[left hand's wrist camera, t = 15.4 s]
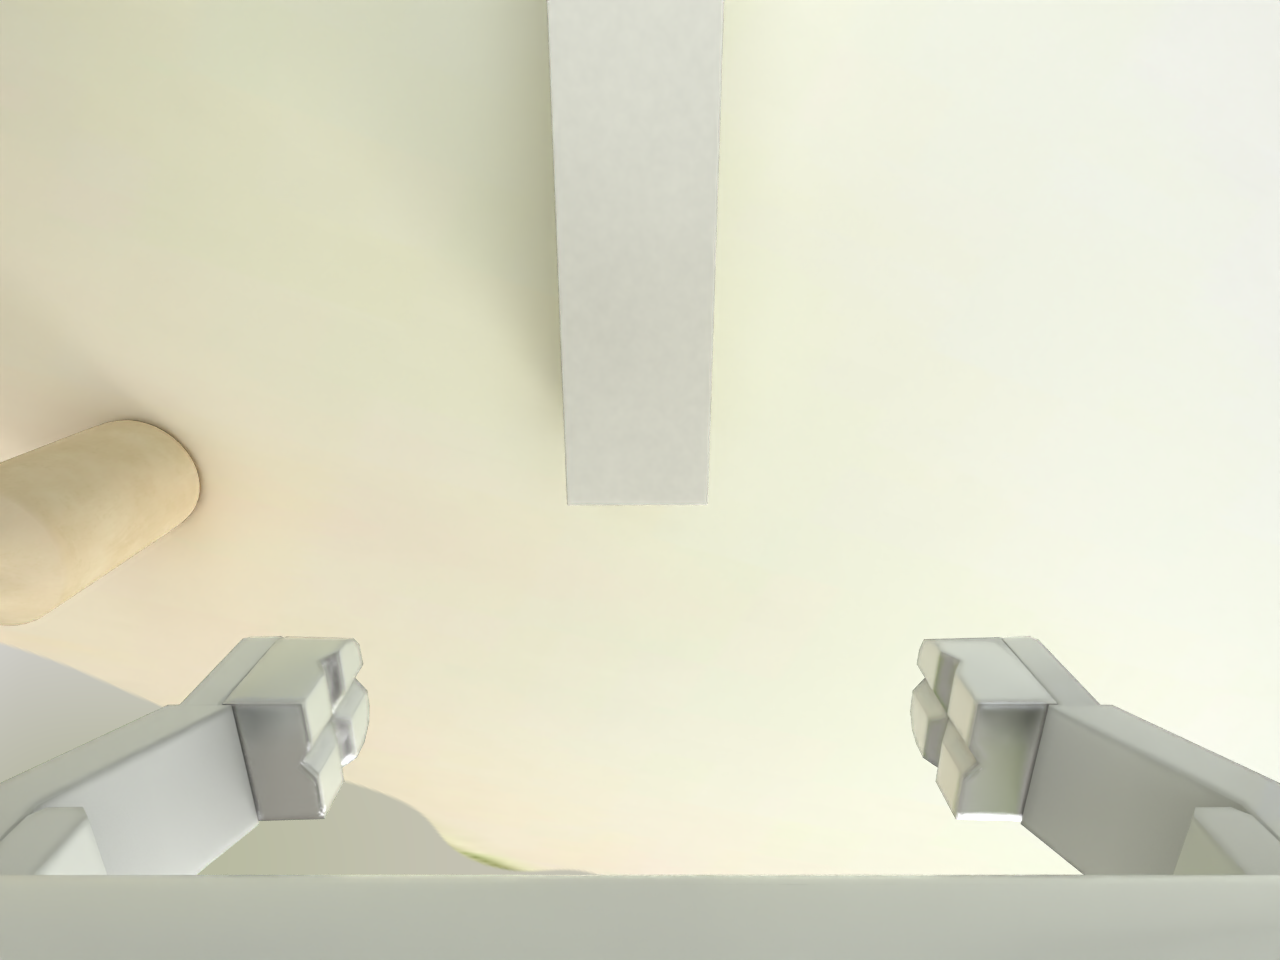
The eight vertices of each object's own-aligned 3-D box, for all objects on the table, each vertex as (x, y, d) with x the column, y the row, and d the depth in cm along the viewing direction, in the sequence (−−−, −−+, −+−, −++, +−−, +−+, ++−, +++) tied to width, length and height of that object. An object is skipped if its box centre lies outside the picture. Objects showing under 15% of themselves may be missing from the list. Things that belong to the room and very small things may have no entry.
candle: (120, 393, 32) (-97, 467, 22) (225, 476, 33) (62, 578, 24) (56, 475, 33) (-173, 577, 24) (160, 551, 35) (-19, 677, 25)
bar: (691, 438, 33) (707, 505, 25) (583, 438, 33) (566, 505, 25) (710, -331, 24) (743, -591, 16) (560, -330, 24) (522, -591, 16)
